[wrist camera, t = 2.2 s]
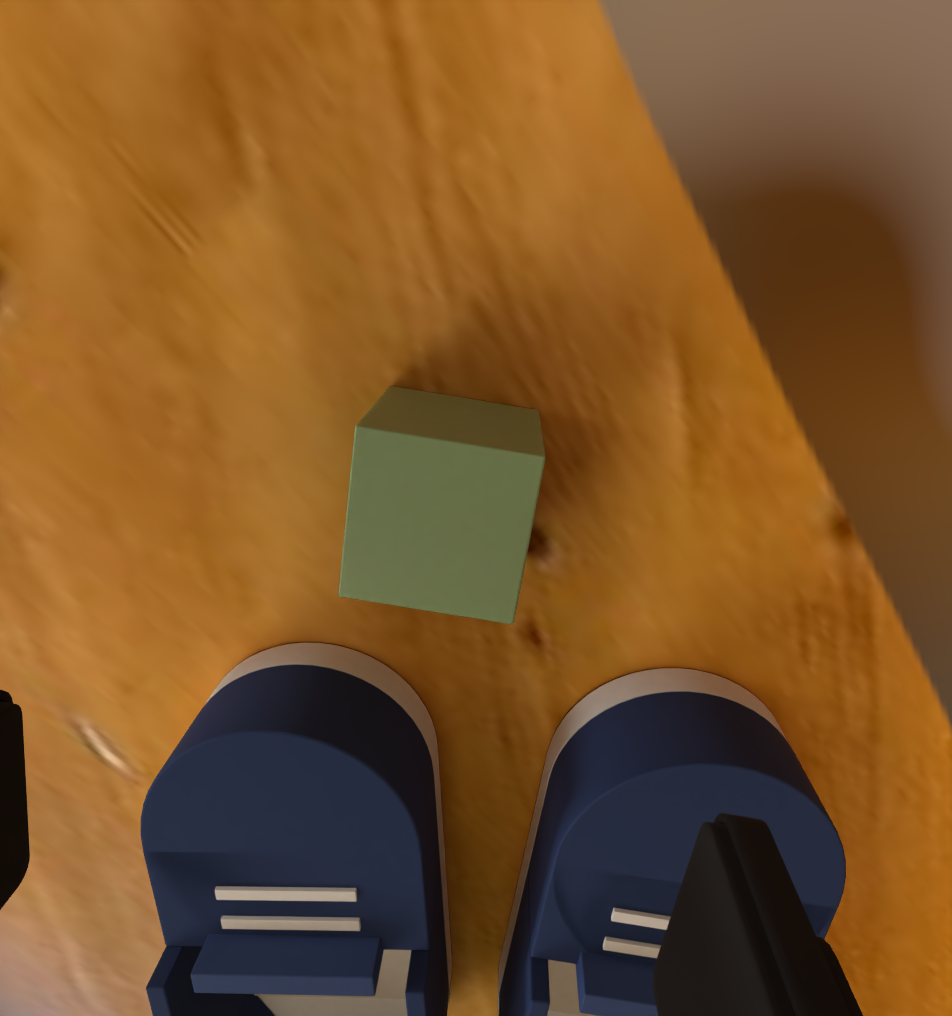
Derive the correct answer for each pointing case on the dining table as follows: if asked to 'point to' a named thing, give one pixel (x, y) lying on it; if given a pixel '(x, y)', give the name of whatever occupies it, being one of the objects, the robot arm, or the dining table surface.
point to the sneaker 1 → (301, 846)
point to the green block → (442, 504)
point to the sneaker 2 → (648, 835)
